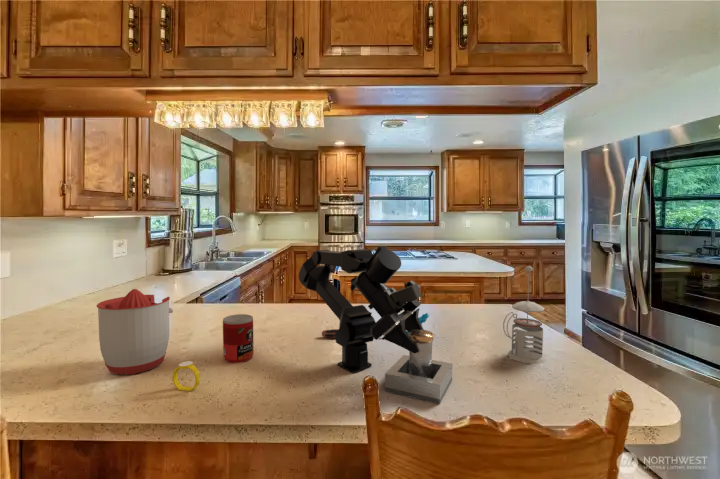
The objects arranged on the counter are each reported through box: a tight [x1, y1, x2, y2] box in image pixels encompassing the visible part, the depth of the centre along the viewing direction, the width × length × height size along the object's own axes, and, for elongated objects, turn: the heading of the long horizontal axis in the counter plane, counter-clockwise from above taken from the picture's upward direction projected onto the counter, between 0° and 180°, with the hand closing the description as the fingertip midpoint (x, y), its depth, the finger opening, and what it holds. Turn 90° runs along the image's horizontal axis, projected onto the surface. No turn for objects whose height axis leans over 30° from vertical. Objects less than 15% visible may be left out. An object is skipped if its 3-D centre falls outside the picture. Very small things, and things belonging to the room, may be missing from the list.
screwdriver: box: [321, 328, 386, 339], centre depth 112 cm, size 25×3×3 cm, turn 89°
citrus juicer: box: [96, 288, 174, 376], centre depth 91 cm, size 16×17×20 cm
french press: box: [502, 265, 547, 365], centre depth 97 cm, size 10×12×25 cm
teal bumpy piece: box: [407, 312, 430, 334], centre depth 114 cm, size 11×6×10 cm
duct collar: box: [384, 354, 453, 405], centre depth 80 cm, size 12×12×4 cm
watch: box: [171, 360, 201, 392], centre depth 78 cm, size 6×3×6 cm, turn 80°
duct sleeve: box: [408, 329, 435, 379], centre depth 80 cm, size 5×5×11 cm
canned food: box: [222, 313, 254, 364], centre depth 96 cm, size 8×8×11 cm
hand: (421, 346), depth 79 cm, fingers open, 7 cm apart
